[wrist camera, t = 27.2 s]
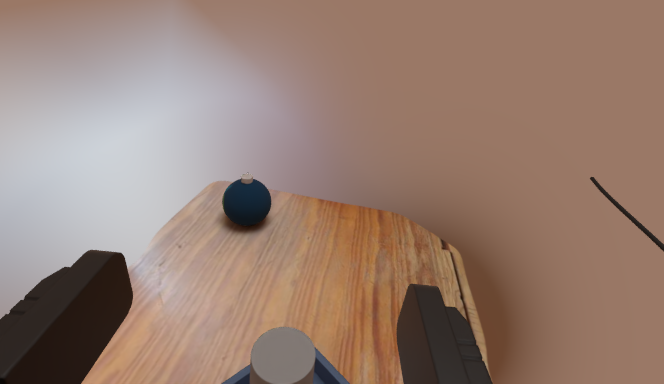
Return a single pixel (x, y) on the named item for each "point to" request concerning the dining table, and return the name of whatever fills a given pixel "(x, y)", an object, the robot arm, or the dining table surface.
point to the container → (282, 358)
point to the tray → (324, 379)
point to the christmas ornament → (246, 201)
